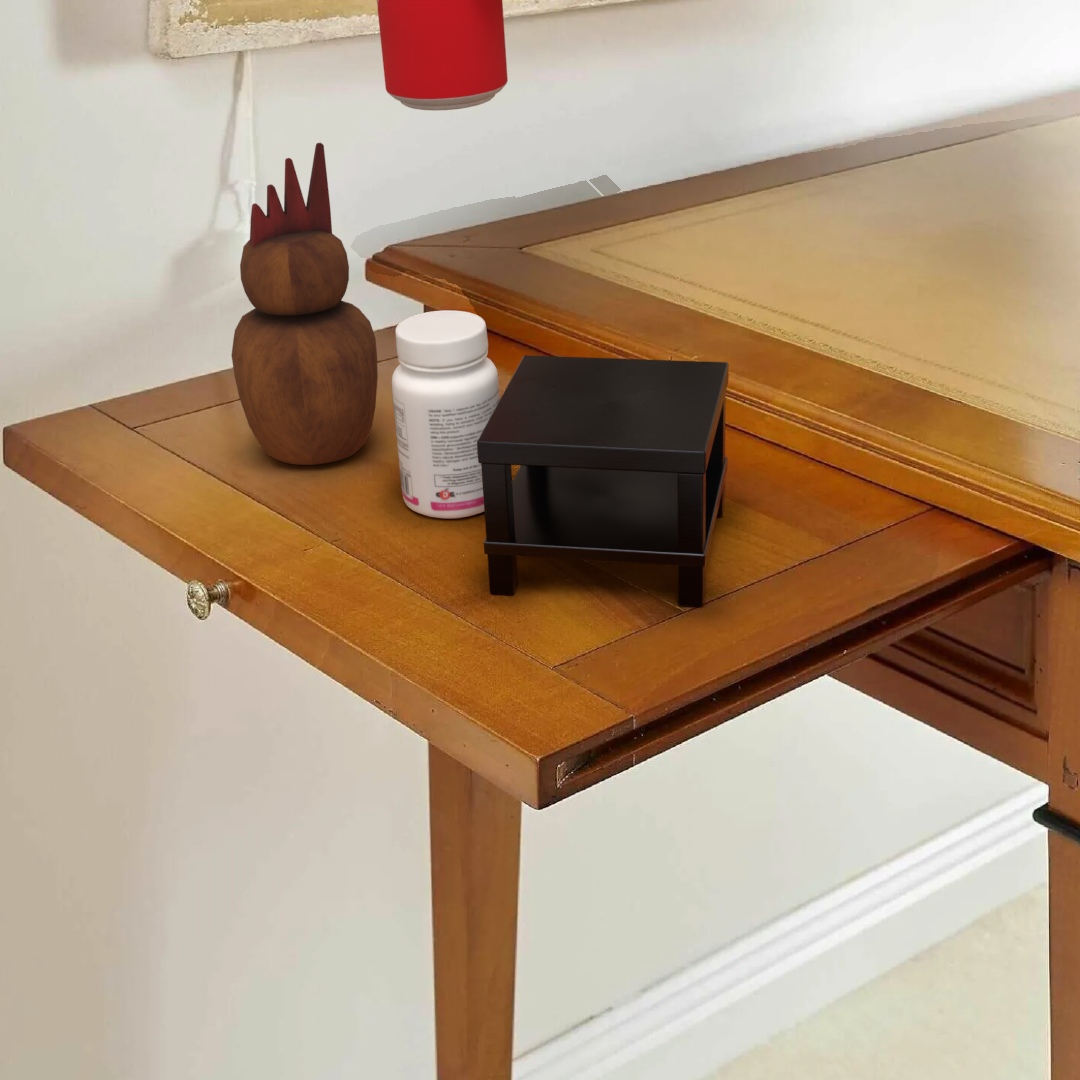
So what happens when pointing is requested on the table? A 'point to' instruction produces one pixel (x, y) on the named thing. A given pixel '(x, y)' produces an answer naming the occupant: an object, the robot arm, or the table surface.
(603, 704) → the table surface
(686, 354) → the table surface
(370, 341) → the wooden figurine
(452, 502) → the pill bottle
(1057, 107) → the table surface
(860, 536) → the table surface
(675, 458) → the side table
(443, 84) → the beverage can
